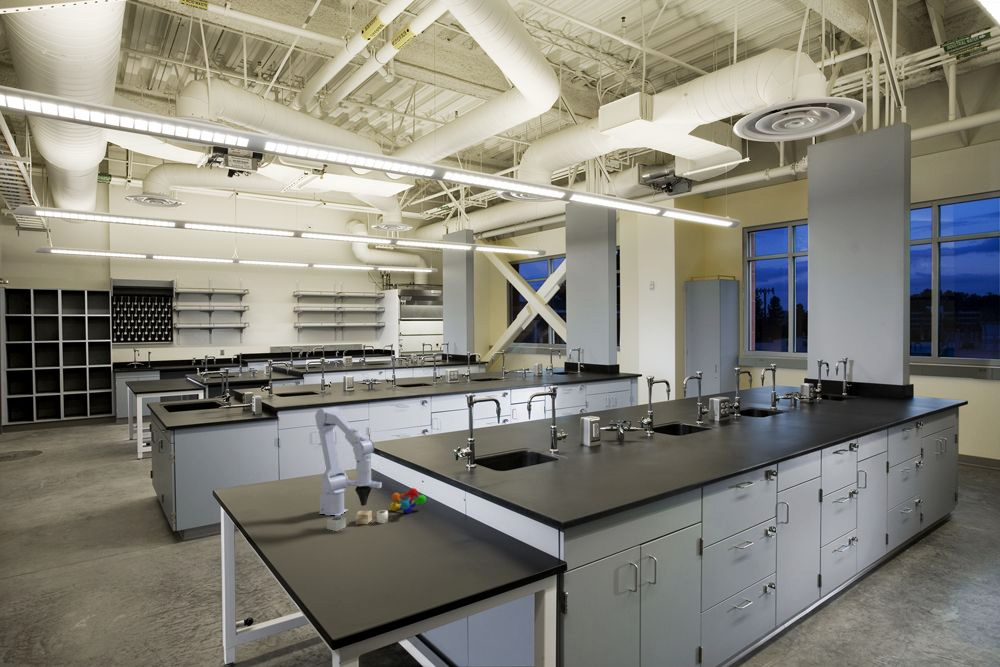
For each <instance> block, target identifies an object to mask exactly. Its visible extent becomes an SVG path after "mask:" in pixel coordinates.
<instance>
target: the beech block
mask: <svg viewBox="0 0 1000 667" xmlns="http://www.w3.org/2000/svg"><path fill="white" fill-rule="evenodd" d="M371 520H372V521H373V510H359V511H357V512H356V514H355V525H358V524H368V523H369V522H370V521H371ZM372 521H371V522H372ZM371 522H370V523H371ZM370 523H369V524H370ZM369 524H368V525H369Z"/></svg>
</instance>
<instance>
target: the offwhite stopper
mask: <svg viewBox="0 0 1000 667" xmlns="http://www.w3.org/2000/svg"><path fill="white" fill-rule="evenodd" d="M377 522H379V523H385V522H387V523H388V522H389V511H388V510H387V509H385V510H384V509H383V510H377V511H376V523H377ZM385 524H386V523H385Z"/></svg>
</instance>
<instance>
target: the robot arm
mask: <svg viewBox="0 0 1000 667" xmlns="http://www.w3.org/2000/svg"><path fill="white" fill-rule="evenodd" d="M314 417H315V423H316V429H317V430H318V432H319V434H318V435H319V439H320V443H321V444H320V445H321V447H322V454H323V460H324V464H325V465H324V466H325V469H326V470H325V471H324V472H323V473H322V474H321V489H322V492H321V493H320V496H319V513H318V515H319V514H325V515H324V516H330V515H335V516H339V517H341V514H342V515H343V514H345V513H346V512H348V511H349V509H347V508H345V491H346V489H347V488H348V487H356V488H355V490H354V491H355V492H356V494H357V497H358V500H359V502H360V506H363V507H364V506H367V504H368V503H367V502H368V500H369V499H368V498H369V495H370V492H371V491H372V489H373V488H377V489H381V488H382V486H383V484H382V481H376V480H372V454H373V453H374V452H375V444H374V442H373V439H369V438H366V437H364V435H363V434H362V433H361V432H360V431H359V429H358V428H357V427H356V428H355V427H352V426H351V425H350V423H349V422H348V420H347V418H346V417H345V412H344V410H343V409H342V408H341V407H340V406H338V405H337V406H332V407H324V408H318V409H317V411H316V413H315V415H314ZM336 426H337V427H338V428H339V430H341V431H342V432H343V433H344V434H345V435H344V438H345V440H346V441H347V442H348V443H349V444H350V446H351V447H352V451H353V454H354V459H355V463H356V464H355V465H356V466H355V467H356V470H355V471H356V474H355V475H356V478H355V480H351V479H349V478H348V477H349V476H348V475H347V474H346V470H345V469H343V467H341V466H340V465H339V458H338V454H337V448H336V444H335V438H334V432H333V430H334V428H335V427H336ZM344 512H345V513H344ZM335 516H334V517H335Z"/></svg>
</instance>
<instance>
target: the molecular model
mask: <svg viewBox="0 0 1000 667" xmlns="http://www.w3.org/2000/svg"><path fill="white" fill-rule="evenodd" d="M407 496H408V498H406V500H403V499H401V498H403V497H407ZM414 497H416V498H417V499H414ZM413 499H414V500H413ZM391 500H392V501H393V502H391V503H390V505H389V509H390V511H391V512H396V511H397V510H403V511H404V512H405V514H411V512H413V508H414V507H415V506H417V505H419V504H424V503H425V502H426V501H427V497H426V496H425V495H423V494H420V495H419V493H418V490H417V488H415V487H412V488H410V489H409V491H408V492H405V493H401V494H400V493H398V492H394V493H392V495H391ZM397 502H398V503H397Z"/></svg>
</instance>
